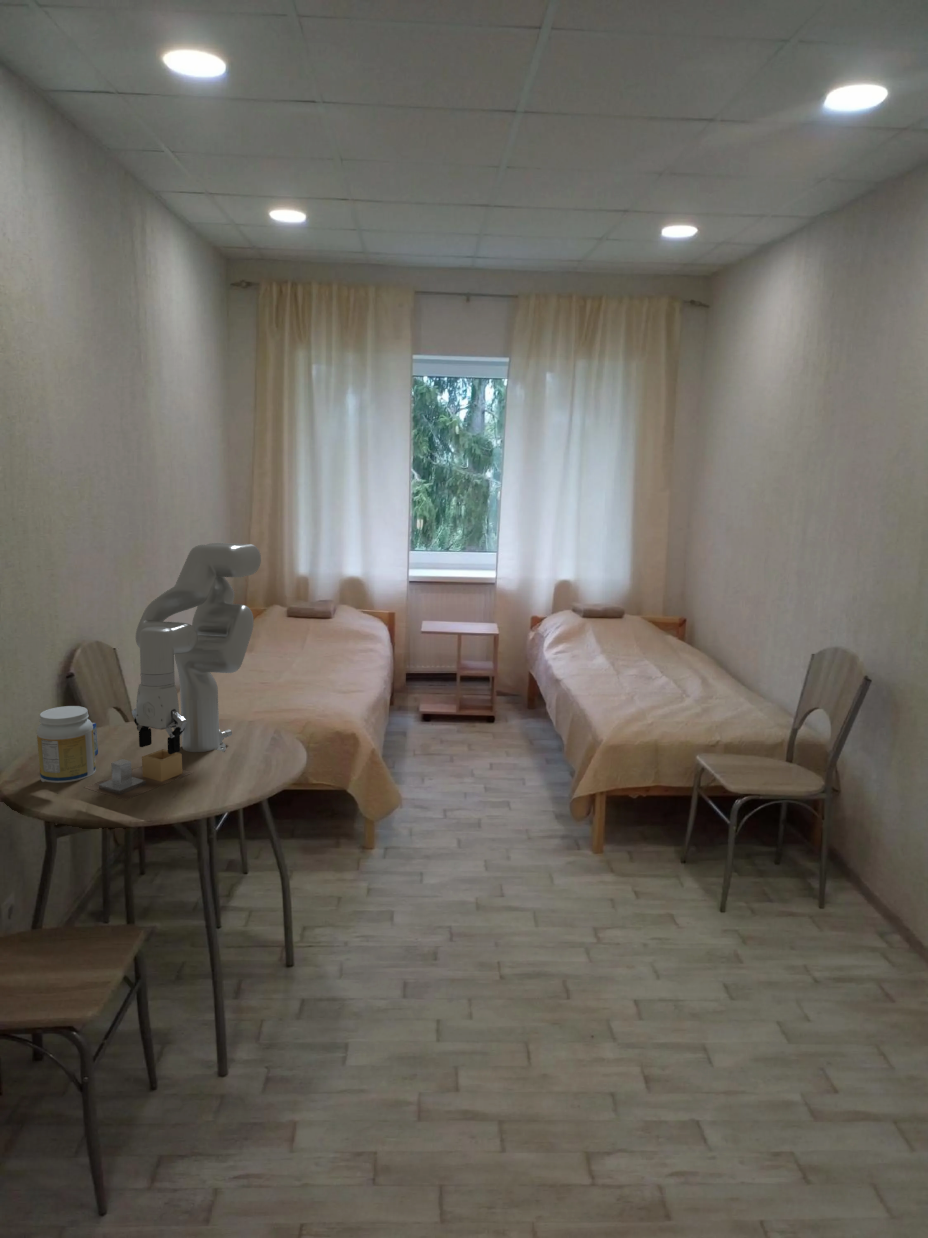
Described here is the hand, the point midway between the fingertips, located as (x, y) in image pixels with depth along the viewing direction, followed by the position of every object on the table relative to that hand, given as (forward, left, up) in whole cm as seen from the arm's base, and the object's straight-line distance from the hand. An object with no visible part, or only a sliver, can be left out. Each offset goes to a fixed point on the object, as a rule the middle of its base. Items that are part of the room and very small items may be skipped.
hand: (159, 749), depth 197 cm
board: (+4, -2, -8) cm, 10 cm away
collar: (-1, 0, -7) cm, 7 cm away
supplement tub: (+10, -20, -9) cm, 24 cm away
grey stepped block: (+9, -2, -7) cm, 12 cm away
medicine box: (-1, -30, -9) cm, 32 cm away
